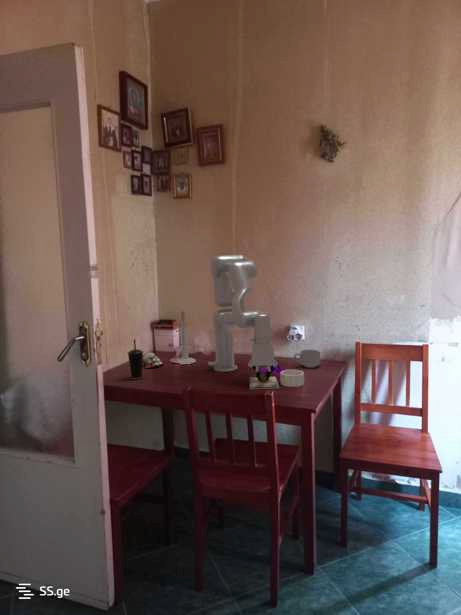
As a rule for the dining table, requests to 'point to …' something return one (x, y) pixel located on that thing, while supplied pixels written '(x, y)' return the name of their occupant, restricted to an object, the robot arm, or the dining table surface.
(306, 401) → the dining table surface
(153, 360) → the skull
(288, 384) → the bowl
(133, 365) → the drinking cup
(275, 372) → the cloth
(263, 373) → the lid
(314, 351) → the teacup
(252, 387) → the mat
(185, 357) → the candlestick
